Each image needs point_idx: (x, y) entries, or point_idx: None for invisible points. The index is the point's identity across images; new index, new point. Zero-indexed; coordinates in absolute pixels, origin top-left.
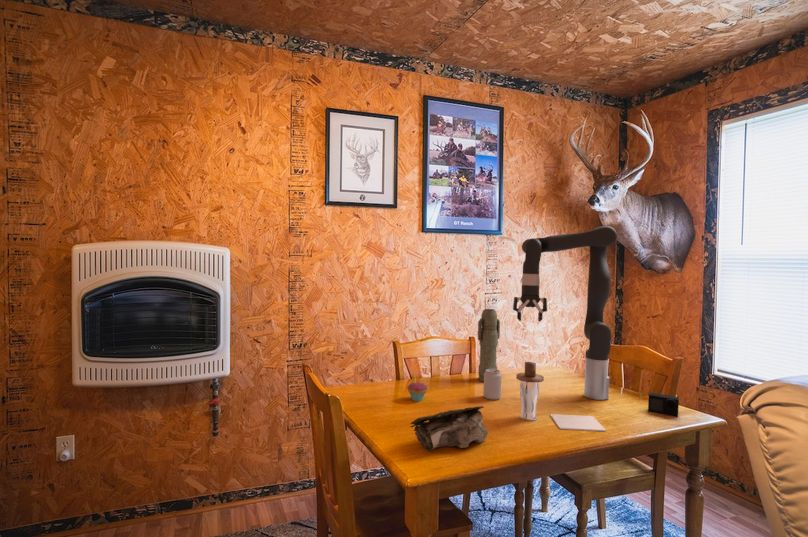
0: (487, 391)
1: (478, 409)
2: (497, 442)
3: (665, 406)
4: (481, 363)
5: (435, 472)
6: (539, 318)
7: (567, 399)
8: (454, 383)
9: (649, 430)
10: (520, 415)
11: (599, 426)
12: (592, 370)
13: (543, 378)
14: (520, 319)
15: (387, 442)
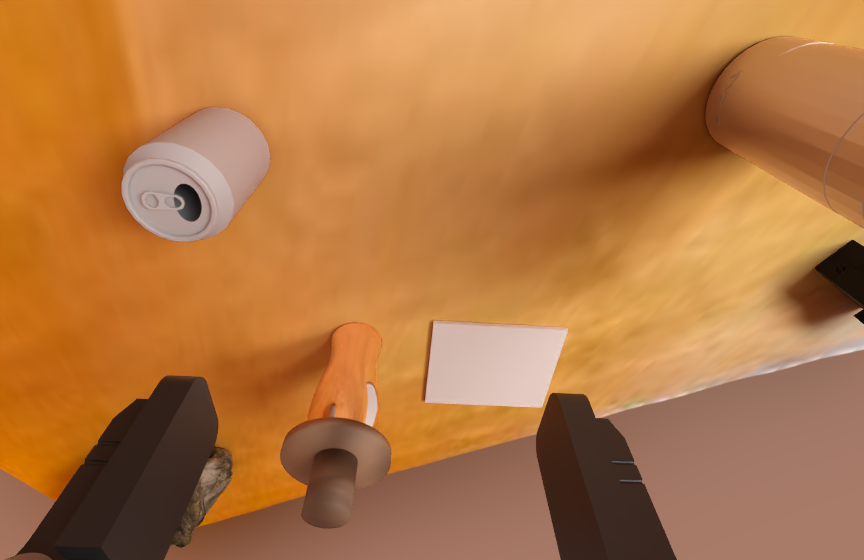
0: (194, 190)
1: (185, 514)
2: (260, 457)
3: (859, 317)
4: None
5: None
6: (548, 491)
7: (589, 145)
8: None
9: (664, 393)
10: (331, 339)
11: (538, 390)
12: (810, 192)
13: (385, 474)
14: (200, 453)
15: (25, 467)
